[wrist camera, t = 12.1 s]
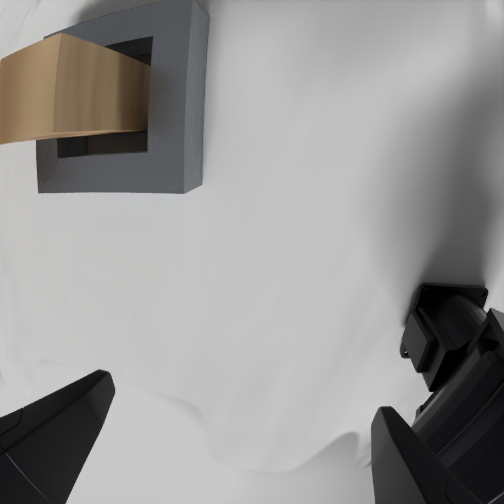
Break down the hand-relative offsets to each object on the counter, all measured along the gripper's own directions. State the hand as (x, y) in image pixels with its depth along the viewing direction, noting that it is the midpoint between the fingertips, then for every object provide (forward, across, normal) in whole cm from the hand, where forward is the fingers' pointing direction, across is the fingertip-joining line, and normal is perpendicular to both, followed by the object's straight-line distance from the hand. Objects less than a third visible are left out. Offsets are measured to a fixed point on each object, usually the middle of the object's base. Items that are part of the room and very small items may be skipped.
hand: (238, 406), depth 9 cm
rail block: (+13, +10, -10) cm, 20 cm away
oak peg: (+13, +10, -10) cm, 20 cm away
